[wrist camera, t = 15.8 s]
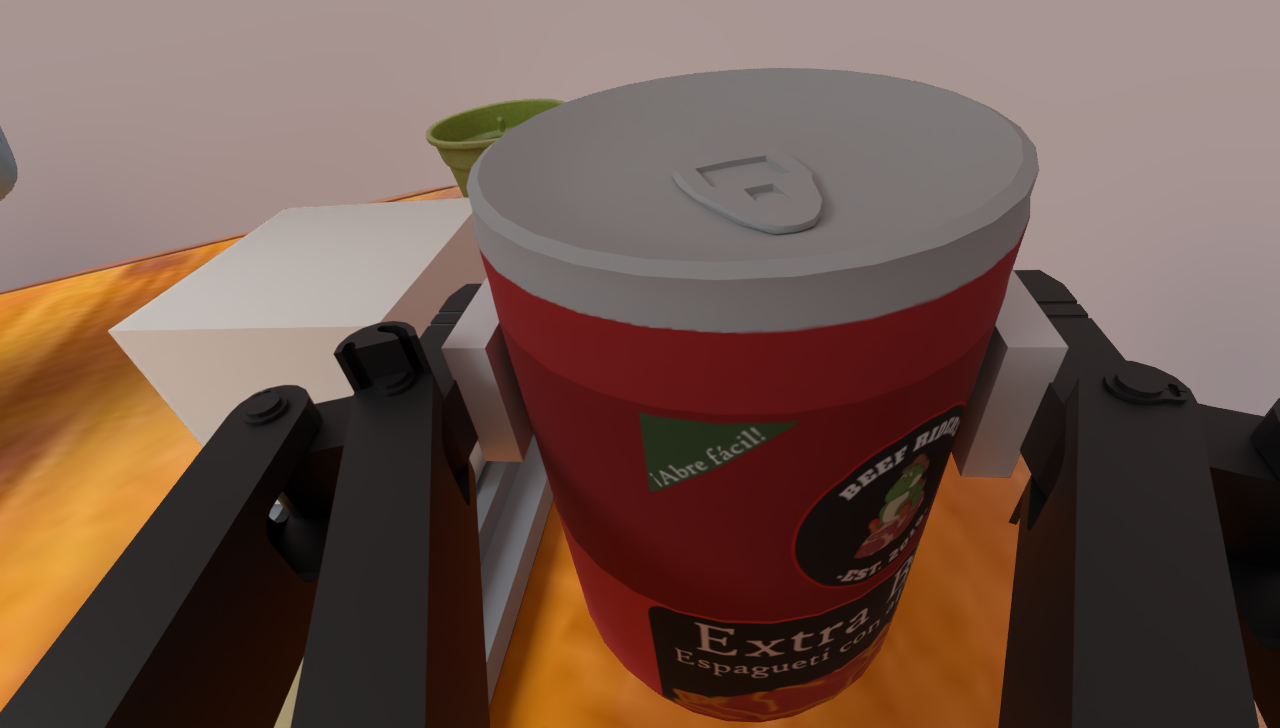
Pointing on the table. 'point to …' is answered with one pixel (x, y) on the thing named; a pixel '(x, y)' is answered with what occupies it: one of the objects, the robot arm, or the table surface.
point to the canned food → (750, 354)
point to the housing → (299, 303)
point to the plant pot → (479, 132)
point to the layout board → (494, 552)
